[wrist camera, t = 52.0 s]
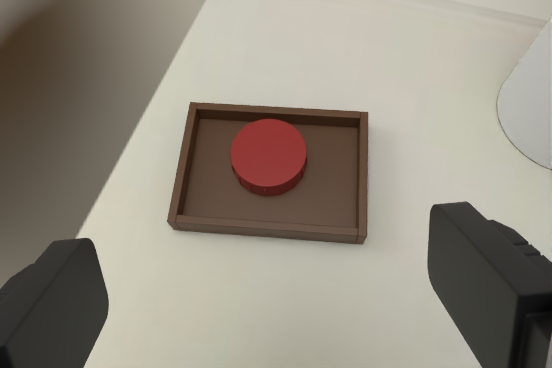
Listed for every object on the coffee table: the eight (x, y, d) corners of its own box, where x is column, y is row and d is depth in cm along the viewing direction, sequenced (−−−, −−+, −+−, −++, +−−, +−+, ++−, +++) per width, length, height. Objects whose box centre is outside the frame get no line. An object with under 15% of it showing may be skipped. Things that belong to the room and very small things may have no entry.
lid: (314, 140, 35) (315, 127, 33) (295, 204, 33) (295, 195, 31) (246, 123, 36) (243, 110, 34) (223, 185, 34) (219, 175, 32)
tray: (173, 230, 33) (166, 221, 31) (195, 115, 37) (190, 101, 35) (362, 244, 32) (367, 236, 30) (364, 125, 36) (368, 111, 34)
